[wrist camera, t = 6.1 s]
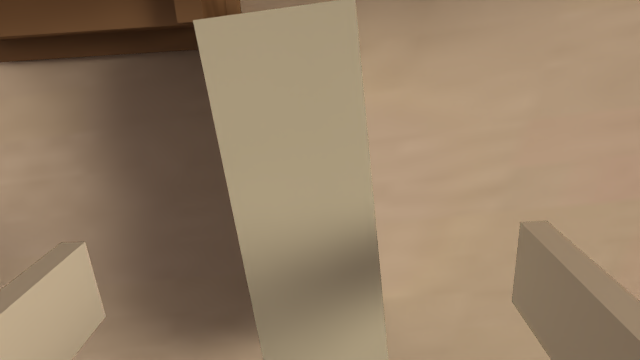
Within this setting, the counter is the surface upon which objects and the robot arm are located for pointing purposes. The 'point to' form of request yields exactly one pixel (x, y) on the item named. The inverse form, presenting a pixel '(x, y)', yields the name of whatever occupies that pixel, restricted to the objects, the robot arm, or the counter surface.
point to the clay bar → (299, 176)
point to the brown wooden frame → (102, 26)
